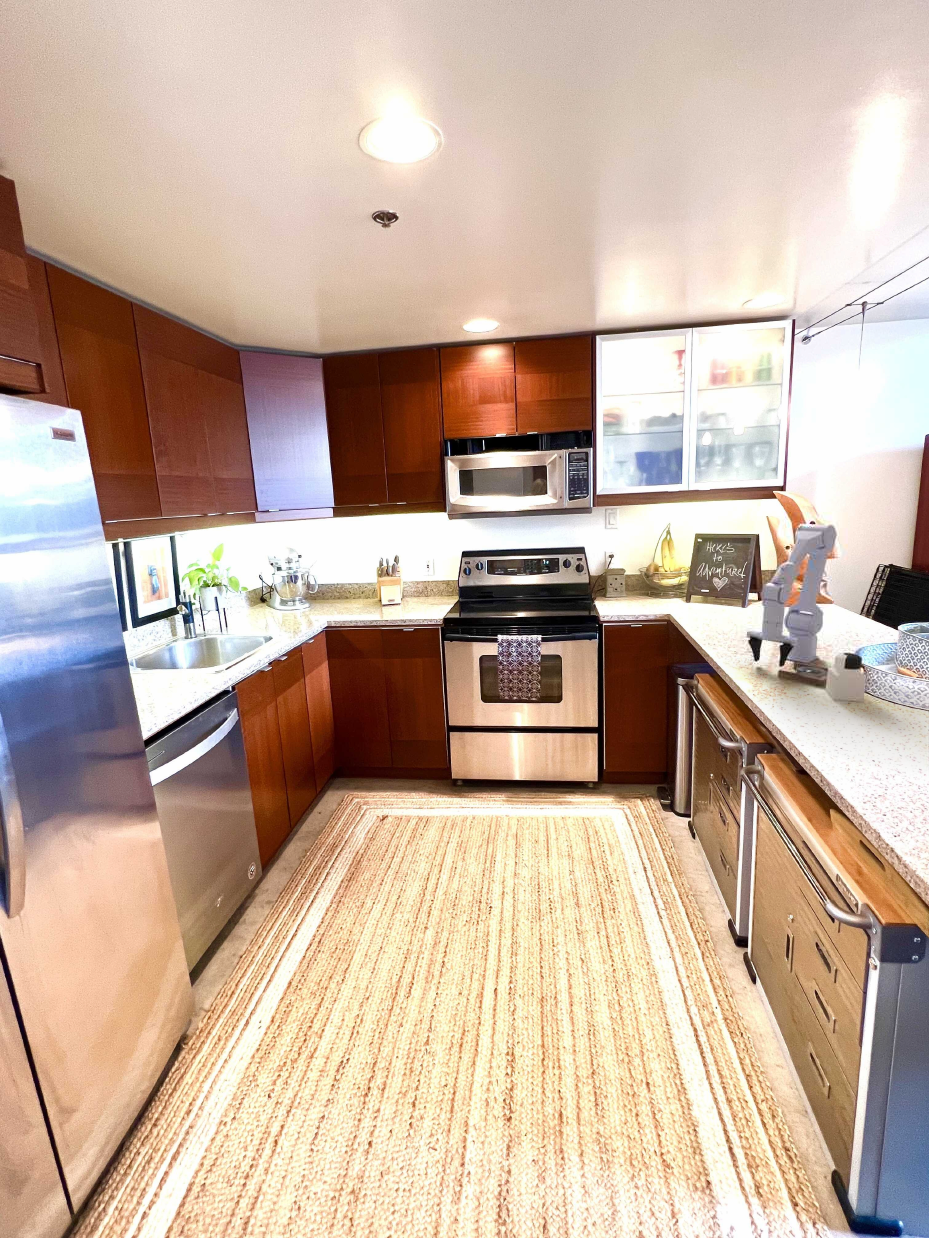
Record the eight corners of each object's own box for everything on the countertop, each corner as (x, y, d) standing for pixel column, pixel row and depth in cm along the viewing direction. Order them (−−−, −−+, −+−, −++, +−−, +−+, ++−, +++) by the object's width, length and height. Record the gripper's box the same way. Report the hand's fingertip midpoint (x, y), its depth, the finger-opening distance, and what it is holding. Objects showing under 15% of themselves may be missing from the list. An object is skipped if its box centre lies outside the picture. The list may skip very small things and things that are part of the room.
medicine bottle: (853, 692, 161) (859, 651, 158) (863, 702, 154) (869, 659, 152) (825, 691, 163) (829, 650, 160) (833, 700, 156) (838, 657, 154)
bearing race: (802, 672, 180) (803, 664, 179) (831, 678, 173) (832, 670, 173) (791, 678, 175) (791, 670, 174) (819, 684, 169) (820, 676, 168)
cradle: (795, 667, 183) (795, 661, 183) (838, 676, 174) (839, 670, 173) (777, 676, 175) (778, 670, 175) (822, 686, 166) (822, 680, 166)
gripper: (743, 620, 183) (740, 661, 186) (792, 627, 172) (787, 671, 175) (753, 616, 187) (750, 656, 190) (802, 623, 176) (797, 666, 179)
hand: (769, 663), depth 183 cm, fingers open, 7 cm apart
